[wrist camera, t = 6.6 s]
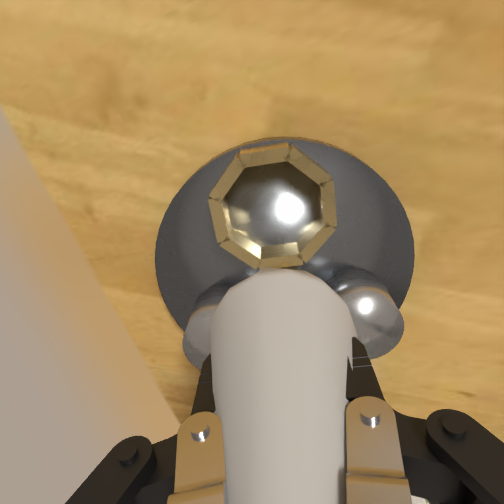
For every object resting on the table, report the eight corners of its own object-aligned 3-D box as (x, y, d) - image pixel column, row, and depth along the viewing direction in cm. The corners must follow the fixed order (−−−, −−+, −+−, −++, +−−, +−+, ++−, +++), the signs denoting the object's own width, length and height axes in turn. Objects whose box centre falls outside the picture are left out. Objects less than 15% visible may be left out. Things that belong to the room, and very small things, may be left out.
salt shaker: (357, 339, 18) (539, 855, 6) (243, 370, 19) (204, 864, 7) (322, 229, 16) (499, 698, 4) (195, 270, 17) (18, 744, 5)
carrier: (407, 114, 30) (445, 123, 24) (406, 347, 39) (433, 398, 33) (130, 160, 32) (97, 179, 26) (191, 369, 42) (177, 422, 35)
